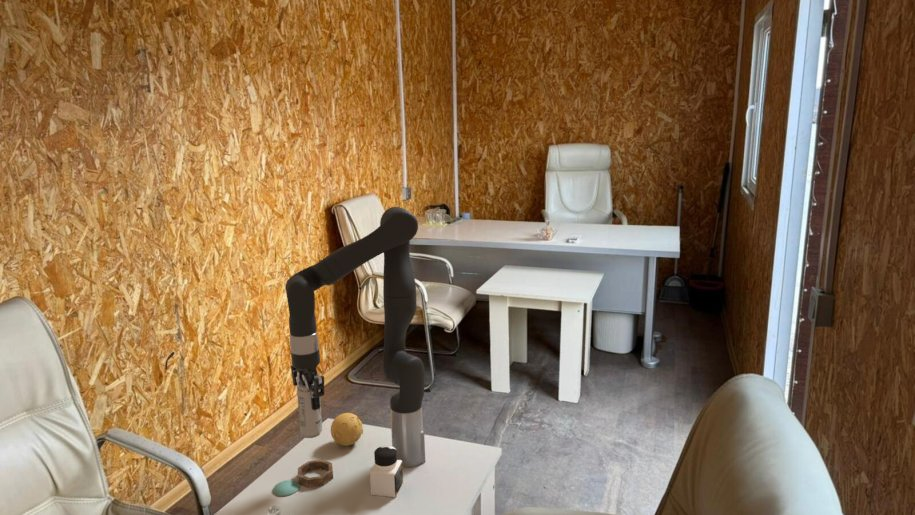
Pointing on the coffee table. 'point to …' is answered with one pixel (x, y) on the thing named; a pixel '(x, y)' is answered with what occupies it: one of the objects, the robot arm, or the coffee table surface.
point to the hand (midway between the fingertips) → (309, 405)
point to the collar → (315, 480)
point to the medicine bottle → (386, 472)
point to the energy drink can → (308, 413)
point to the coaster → (286, 488)
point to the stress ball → (346, 429)
